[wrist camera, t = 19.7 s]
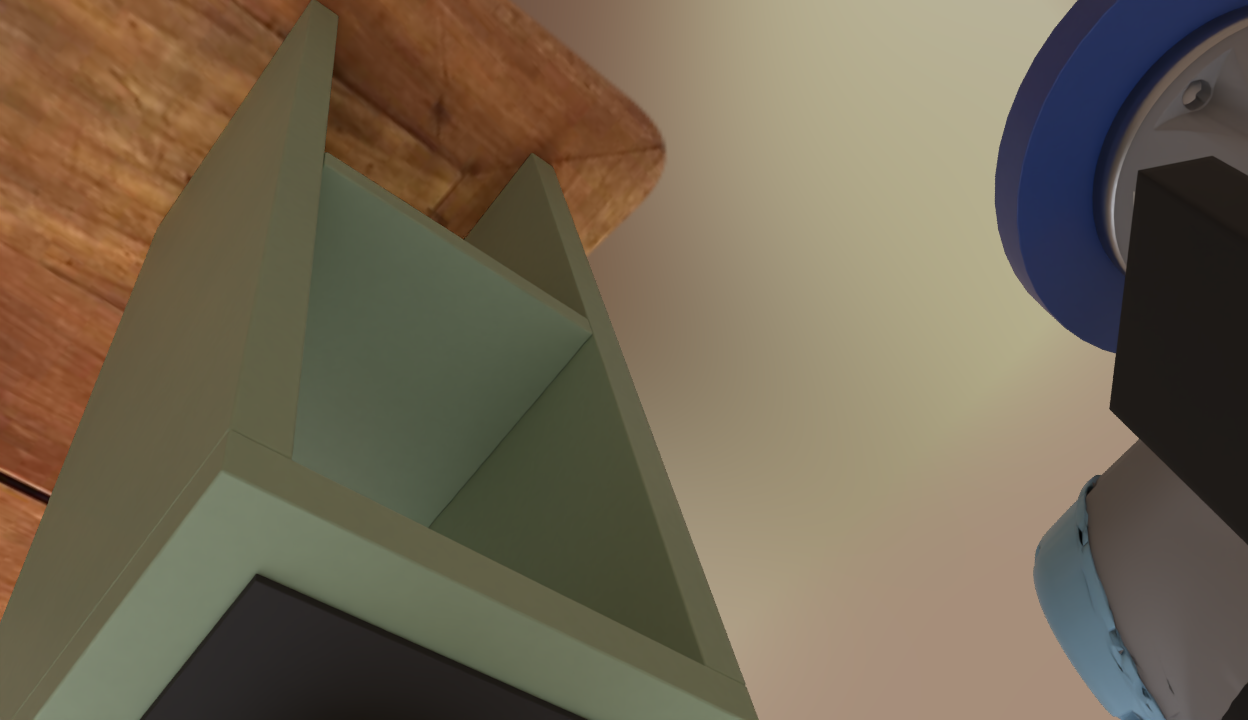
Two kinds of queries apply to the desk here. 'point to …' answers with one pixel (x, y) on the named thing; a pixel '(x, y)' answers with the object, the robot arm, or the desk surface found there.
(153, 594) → the shelf
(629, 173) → the desk surface
